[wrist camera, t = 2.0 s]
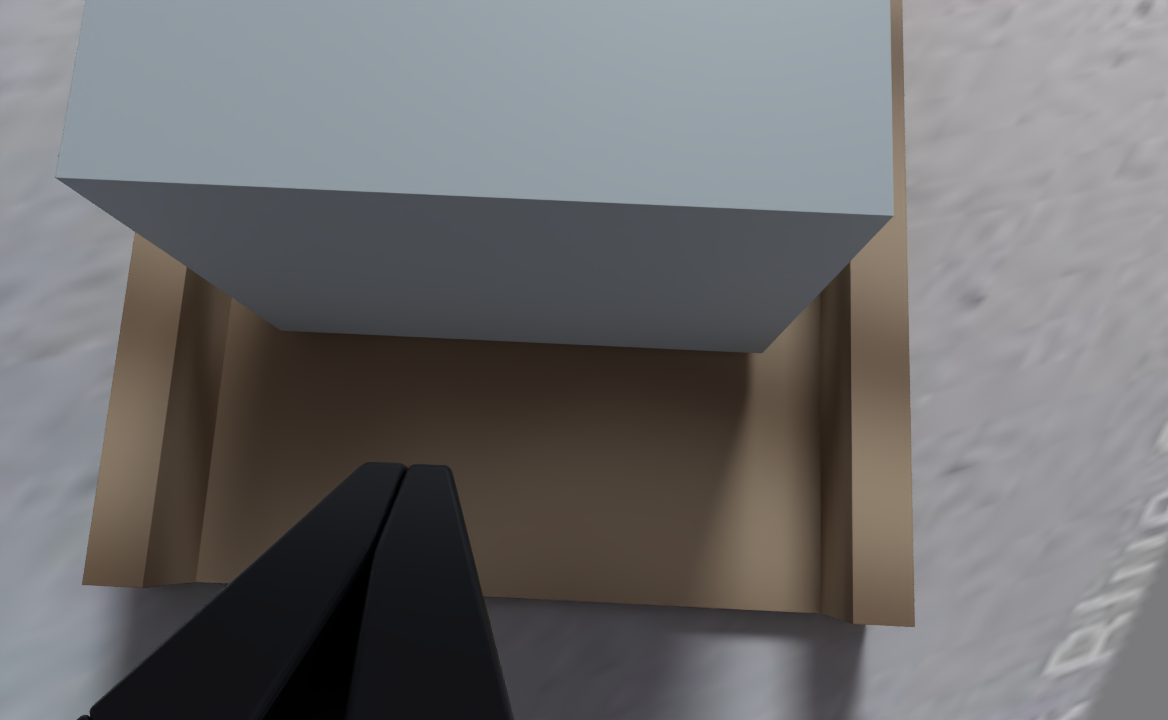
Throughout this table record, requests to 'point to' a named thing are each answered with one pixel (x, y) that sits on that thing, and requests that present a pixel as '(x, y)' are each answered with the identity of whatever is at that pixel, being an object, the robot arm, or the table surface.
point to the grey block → (494, 159)
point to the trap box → (534, 444)
